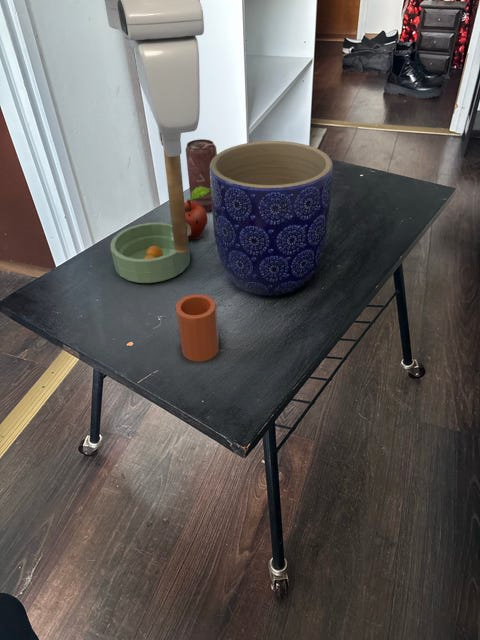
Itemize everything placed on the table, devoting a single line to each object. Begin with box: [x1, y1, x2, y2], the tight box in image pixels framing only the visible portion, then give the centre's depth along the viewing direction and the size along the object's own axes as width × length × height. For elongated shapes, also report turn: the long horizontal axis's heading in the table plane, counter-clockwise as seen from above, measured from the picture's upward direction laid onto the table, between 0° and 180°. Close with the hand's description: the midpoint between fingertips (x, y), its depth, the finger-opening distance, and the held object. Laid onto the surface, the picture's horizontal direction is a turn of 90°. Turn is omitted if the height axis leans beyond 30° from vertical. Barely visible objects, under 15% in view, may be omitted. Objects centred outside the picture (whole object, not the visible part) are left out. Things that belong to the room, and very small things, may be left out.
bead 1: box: [146, 246, 163, 257], centre depth 87 cm, size 3×3×3 cm
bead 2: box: [144, 255, 157, 259], centre depth 84 cm, size 3×3×3 cm
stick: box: [162, 147, 189, 254], centre depth 56 cm, size 2×2×19 cm
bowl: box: [109, 222, 191, 284], centre depth 86 cm, size 14×14×5 cm
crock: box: [175, 293, 220, 363], centre depth 67 cm, size 5×5×8 cm
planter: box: [210, 140, 334, 297], centre depth 77 cm, size 18×18×21 cm
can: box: [185, 138, 218, 214], centre depth 101 cm, size 6×6×14 cm
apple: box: [184, 186, 210, 240], centre depth 92 cm, size 8×7×10 cm
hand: (170, 149), depth 53 cm, fingers closed on stick, 2 cm apart
